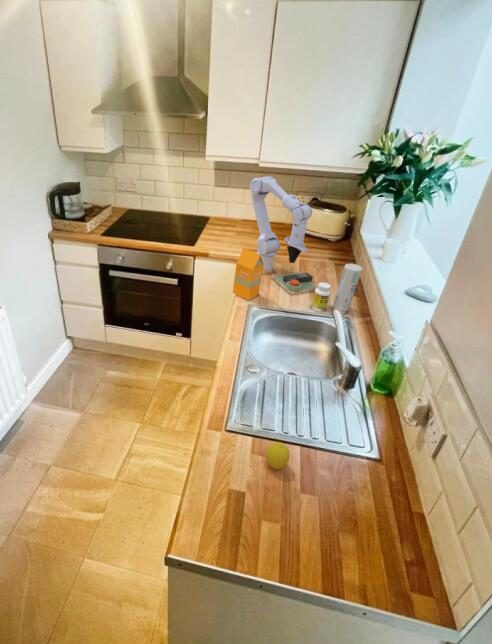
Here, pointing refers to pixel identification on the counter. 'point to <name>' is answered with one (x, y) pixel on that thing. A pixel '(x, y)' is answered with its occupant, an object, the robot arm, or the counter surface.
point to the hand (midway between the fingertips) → (292, 262)
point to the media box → (295, 288)
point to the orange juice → (248, 275)
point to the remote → (298, 277)
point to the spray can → (347, 287)
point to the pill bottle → (321, 296)
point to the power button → (294, 282)
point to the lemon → (277, 455)
